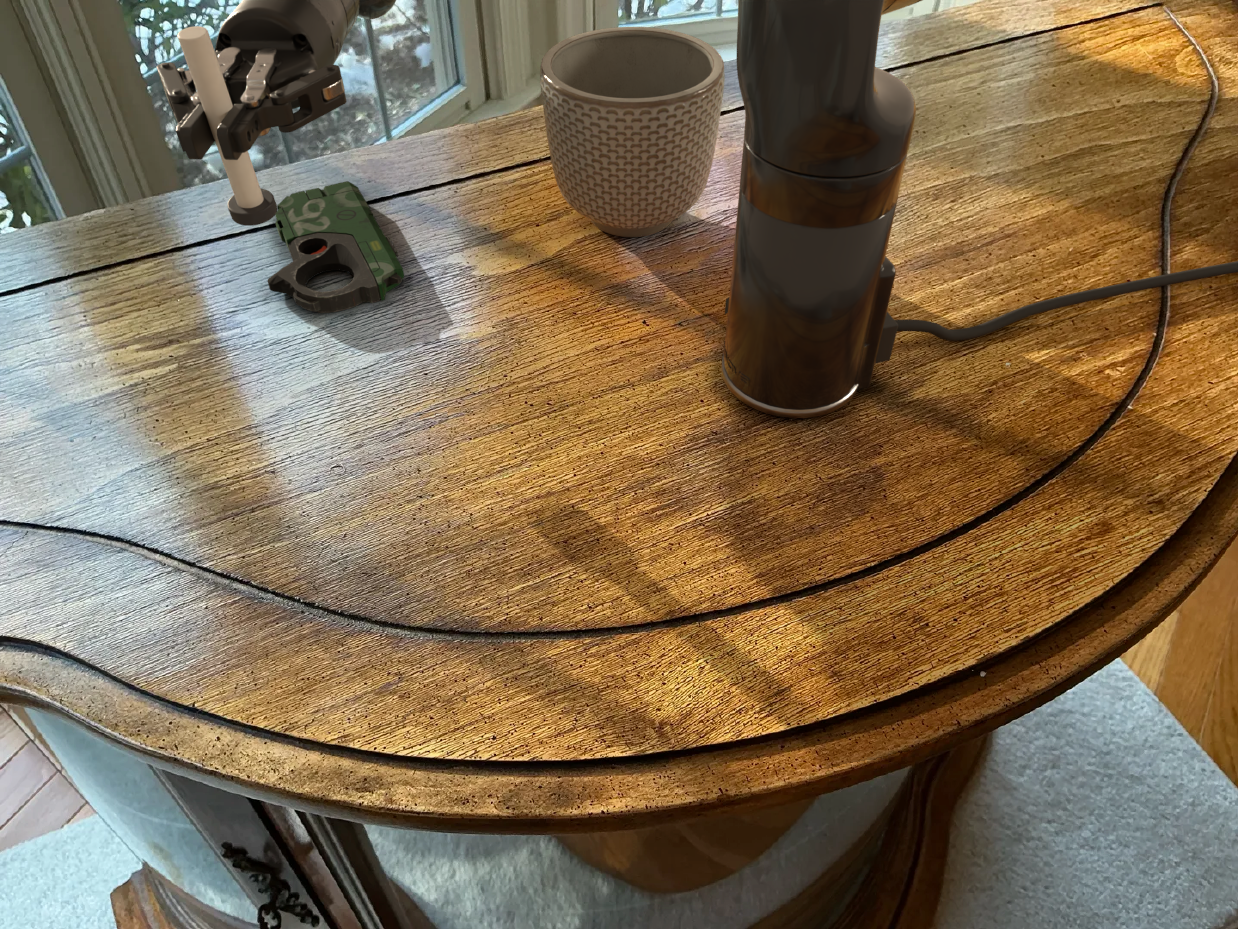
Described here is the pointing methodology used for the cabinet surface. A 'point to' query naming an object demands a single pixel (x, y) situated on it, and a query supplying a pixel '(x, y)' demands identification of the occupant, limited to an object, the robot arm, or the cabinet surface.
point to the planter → (632, 124)
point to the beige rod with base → (200, 56)
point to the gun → (334, 248)
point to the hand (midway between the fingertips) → (208, 145)
